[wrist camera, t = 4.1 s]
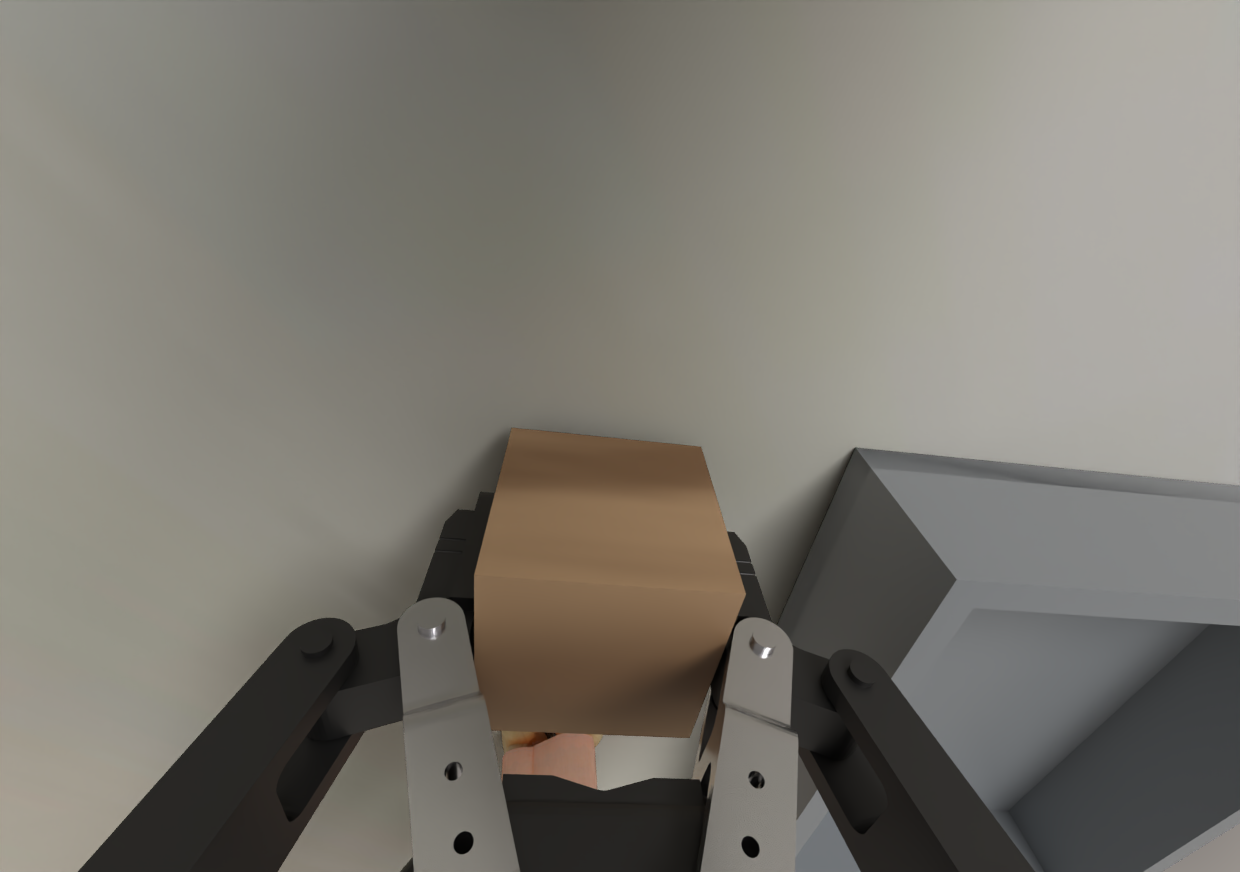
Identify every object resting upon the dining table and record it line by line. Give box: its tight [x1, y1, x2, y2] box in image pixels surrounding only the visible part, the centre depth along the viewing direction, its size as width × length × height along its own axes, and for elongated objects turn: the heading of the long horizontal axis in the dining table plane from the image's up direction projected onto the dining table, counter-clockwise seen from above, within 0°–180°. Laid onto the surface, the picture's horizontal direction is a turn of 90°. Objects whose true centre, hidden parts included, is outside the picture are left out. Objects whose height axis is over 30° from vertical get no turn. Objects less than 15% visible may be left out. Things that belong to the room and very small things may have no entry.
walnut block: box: [474, 428, 746, 738], centre depth 13 cm, size 5×5×5 cm
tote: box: [777, 448, 1240, 872], centre depth 19 cm, size 20×16×5 cm
